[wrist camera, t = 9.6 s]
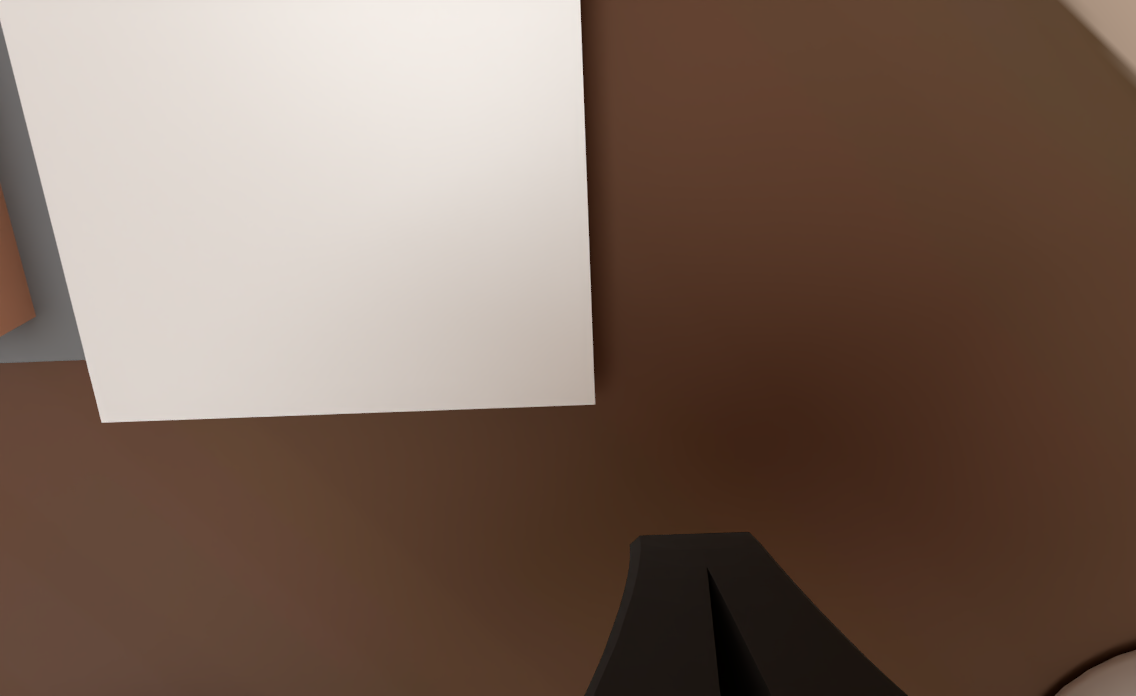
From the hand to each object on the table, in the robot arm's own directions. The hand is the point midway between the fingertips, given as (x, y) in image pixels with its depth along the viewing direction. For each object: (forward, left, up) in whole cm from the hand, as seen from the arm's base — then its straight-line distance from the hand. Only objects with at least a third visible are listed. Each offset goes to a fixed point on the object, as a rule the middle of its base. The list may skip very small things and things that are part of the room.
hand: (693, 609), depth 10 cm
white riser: (+4, +6, -9) cm, 12 cm away
